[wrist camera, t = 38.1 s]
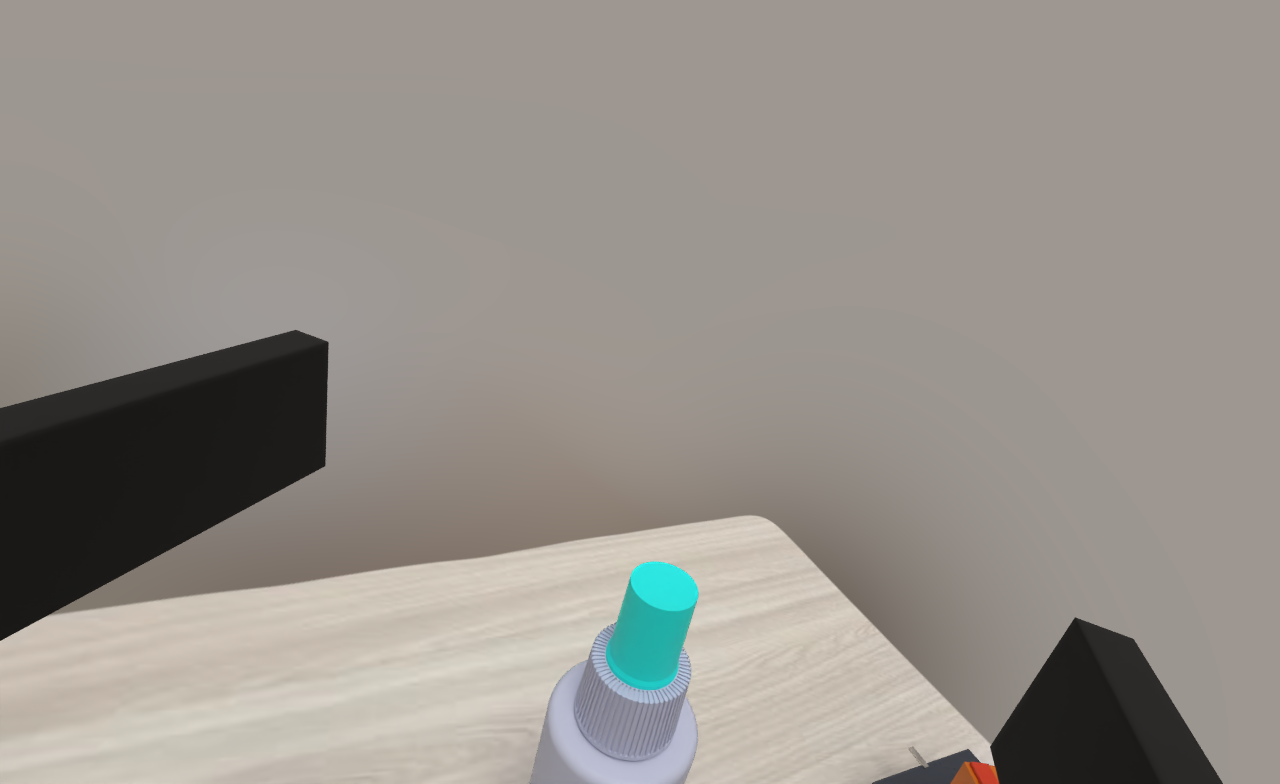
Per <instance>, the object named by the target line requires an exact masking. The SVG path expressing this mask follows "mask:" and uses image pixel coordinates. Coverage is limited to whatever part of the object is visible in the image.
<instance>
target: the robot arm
mask: <svg viewBox="0 0 1280 784" xmlns="http://www.w3.org/2000/svg"><path fill="white" fill-rule="evenodd" d="M327 379H328V342H327V341H324V340H322V339H319V338H316V337H314V336H311V335H308V334H305V333H303V332H300V331H297V330H294V331H290V332H287V333H283V334H279V335H275V336H272V337H268V338H264V339H260V340H256V341H252V342H249V343H245V344H241V345H237V346H234V347H230V348H226V349H223V350H219V351H215V352H211V353H207V354H203V355H200V356H196V357H193V358H188V359H185V360H181V361H177V362H173V363H170V364H166V365H162V366H158V367H154V368H151V369H147V370H143V371H139V372H135V373H132V374H128V375H124V376H120V377H117V378H113V379H109V380H105V381H102V382H98V383H94V384H90V385H87V386H83V387H79V388H75V389H71V390H68V391H64V392H60V393H56V394H53V395H49V396H45V397H41V398H38V399H34V400H30V401H26V402H22V403H19V404H15V405H11V406H7V407H3V408H0V641H1V640H3V639H5V638H7V637H8V636H10V635H12V634H14V633H16V632H18V631H20V630H21V629H23V628H25V627H27V626H29V625H31V624H33V623H34V622H36V621H38V620H40V619H42V618H44V617H46V616H47V615H49V614H51V613H53V612H55V611H56V610H59V609H60V608H62V607H64V606H66V605H68V604H70V603H71V602H73V601H75V600H77V599H79V598H81V597H83V596H84V595H86V594H88V593H90V592H92V591H94V590H96V589H98V588H99V587H101V586H103V585H105V584H107V583H109V582H111V581H112V580H114V579H116V578H118V577H120V576H122V575H124V574H125V573H127V572H129V571H131V570H133V569H135V568H136V567H138V566H140V565H142V564H144V563H146V562H148V561H150V560H151V559H153V558H155V557H157V556H159V555H161V554H162V553H164V552H166V551H168V550H170V549H172V548H174V547H176V546H177V545H179V544H181V543H183V542H185V541H186V540H189V539H190V538H192V537H194V536H196V535H198V534H200V533H202V532H203V531H205V530H207V529H209V528H211V527H213V526H215V525H216V524H218V523H220V522H222V521H224V520H226V519H227V518H229V517H231V516H233V515H235V514H237V513H239V512H240V511H242V510H244V509H246V508H248V507H250V506H252V505H254V504H255V503H257V502H259V501H261V500H263V499H264V498H266V497H268V496H270V495H272V494H274V493H276V492H278V491H280V490H281V489H283V488H285V487H287V486H289V485H291V484H293V483H294V482H296V481H298V480H300V479H302V478H304V477H305V476H308V475H309V474H311V473H313V472H315V471H317V470H319V469H320V468H322V467H324V466H325V457H326V417H327ZM990 748H991V752H992V756H993V760H994V765H995V769H996V773H997V777H998V781H999V784H1223V783H1222V781H1221V780H1220V778H1219V777H1218V775H1217V773H1216V772H1215V770H1214V768H1213V767H1212V765H1211V764H1210V762H1209V760H1208V759H1207V757H1206V756H1205V754H1204V752H1203V751H1202V749H1201V747H1200V746H1199V744H1198V743H1197V741H1196V739H1195V738H1194V736H1193V734H1192V733H1191V731H1190V730H1189V728H1188V726H1187V725H1186V723H1185V721H1184V720H1183V718H1182V717H1181V715H1180V713H1179V712H1178V710H1177V709H1176V707H1175V705H1174V704H1173V703H1172V700H1171V699H1170V697H1169V696H1168V694H1167V692H1166V691H1165V689H1164V688H1163V686H1162V684H1161V683H1160V681H1159V679H1158V678H1157V676H1156V675H1155V673H1154V671H1153V670H1152V668H1151V666H1150V665H1149V663H1148V662H1147V660H1146V658H1145V657H1144V655H1143V654H1142V652H1141V650H1140V649H1139V647H1138V646H1137V644H1136V642H1135V641H1134V639H1132V638H1129V637H1127V636H1124V635H1121V634H1118V633H1116V632H1113V631H1110V630H1108V629H1105V628H1102V627H1099V626H1097V625H1094V624H1091V623H1089V622H1086V621H1083V620H1081V619H1078V618H1075V619H1074V620H1073V621H1072V623H1071V625H1070V626H1069V627H1068V629H1067V631H1066V632H1065V634H1064V635H1063V637H1062V638H1061V640H1060V641H1059V643H1058V644H1057V646H1056V647H1055V649H1054V650H1053V652H1052V653H1051V655H1050V657H1049V658H1048V659H1047V661H1046V663H1045V664H1044V665H1043V667H1042V669H1041V670H1040V672H1039V673H1038V675H1037V676H1036V678H1035V679H1034V681H1033V682H1032V684H1031V685H1030V687H1029V688H1028V690H1027V691H1026V693H1025V694H1024V696H1023V697H1022V699H1021V701H1020V702H1019V704H1018V705H1017V707H1016V708H1015V710H1014V711H1013V713H1012V714H1011V716H1010V717H1009V719H1008V720H1007V722H1006V723H1005V725H1004V726H1003V728H1002V729H1001V731H1000V732H999V734H998V735H997V737H996V738H995V740H994V742H993V743H992V745H991V746H990Z"/></svg>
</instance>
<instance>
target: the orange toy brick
mask: <svg viewBox="0 0 1280 784" xmlns="http://www.w3.org/2000/svg"><path fill="white" fill-rule="evenodd" d="M950 784H999V781H998V777H997V773H996V769H995V766H991V765H989V764H985V763H978V762H964V763H963V765H962V766H961V768H960V769H959V771H958V772H957V774H956V775H955V777H954V779H953V780H952V782H951V783H950Z"/></svg>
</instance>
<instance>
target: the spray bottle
mask: <svg viewBox="0 0 1280 784" xmlns="http://www.w3.org/2000/svg"><path fill="white" fill-rule="evenodd" d="M697 599H698V588H697V585H696V583H695V582H694V580H693V579H692V578H691V577H690V576H689V575H688V574H687V573H686V572H685V571H683V570H682V569H680V568H678V567H676V566H674V565H671V564H668V563H664V562H647V563H643V564H641V565H639V566H637V567H636V568H635V569H634V570H633V572H632V574H631V577H630V581H629V584H628V587H627V590H626V594H625V597H624V600H623V603H622V607H621V610H620V613H619V616H618V620H617V622H616V623H614V625H613V624H611V625H610V626H607V628H604V629H603V631H601V632H600V634H598V636H597V637H596V639H595V641H594V643H593V646H592V649H591V652H590V655H589V658H588V660H585V661H583V662H581V663H579V664H577V665H575V666H574V667H572V668H571V669H570V670H569V671H567V672H566V673H565V674H564V675H563V676H562V678H561V679H560V680H559V681H558V683H557V684H556V686H555V688H554V690H553V692H552V694H551V697H550V700H549V703H548V708H547V712H546V716H545V720H544V725H543V729H542V733H541V737H540V742H539V746H538V750H537V754H536V759H535V763H534V767H533V771H532V776H531V780H530V784H684V783H685V781H686V778H687V775H688V773H689V770H690V768H691V765H692V762H693V760H694V757H695V753H696V749H697V743H698V730H697V722H696V718H695V714H694V712H693V709H692V706H691V705H690V703H689V701H688V699H687V697H686V692H687V689H688V685H689V682H690V678H691V668H690V667H691V663H690V659H688V658H689V656H688V655H686V654H687V652H686V651H684V647H683V644H684V641H685V638H686V635H687V631H688V628H689V625H690V622H691V618H692V615H693V612H694V609H695V605H696V602H697Z"/></svg>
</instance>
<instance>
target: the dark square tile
mask: <svg viewBox="0 0 1280 784" xmlns="http://www.w3.org/2000/svg"><path fill="white" fill-rule="evenodd" d="M909 751H910V752H911V753H912V754H913V756H914V757H915V758H916V759H917V761H918V762H919V763H920V764H921V766H918V767H915V768H912V769H910V770H907V771H904V772H901V773H898V774H895V775H893V776H890V777H887V778H884V779H881V780H878V781H875V782H873V783H872V784H950V783H951V782H952V780H953V779H954V777H955V775H956V774H957V772H958V771H959V769H960V768H961V766H962V765H963V763H964V762H978V763H981V762H980V761H979V760H978V759H977V758H976V757H975V756H974V755H973V754H972V752H971V751H970V750H969V749H967V750H964V751H961V752H958V753H955V754H952V755H950V756H947V757H944V758H941V759H938V760H935V761H932V762H930V763H926V762H925V761H924V759H923V758H922V757H921V756H920V755H919V753H918V752H917V751H916V750H915V749H914V747H910V748H909Z"/></svg>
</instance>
